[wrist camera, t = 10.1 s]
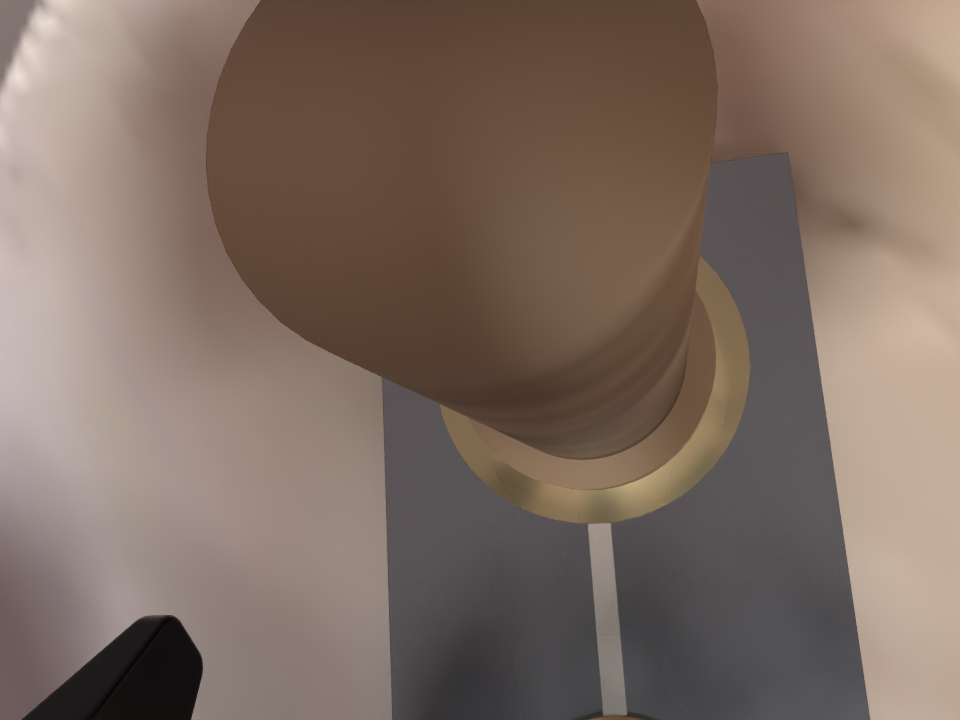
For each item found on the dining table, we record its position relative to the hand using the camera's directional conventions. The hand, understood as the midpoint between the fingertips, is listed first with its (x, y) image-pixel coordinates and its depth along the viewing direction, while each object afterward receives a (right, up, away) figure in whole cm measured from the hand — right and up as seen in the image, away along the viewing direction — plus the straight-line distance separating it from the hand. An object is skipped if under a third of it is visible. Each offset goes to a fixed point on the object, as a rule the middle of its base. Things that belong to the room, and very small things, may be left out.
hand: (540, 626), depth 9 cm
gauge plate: (+2, -1, +9) cm, 9 cm away
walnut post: (+2, +3, +9) cm, 10 cm away
